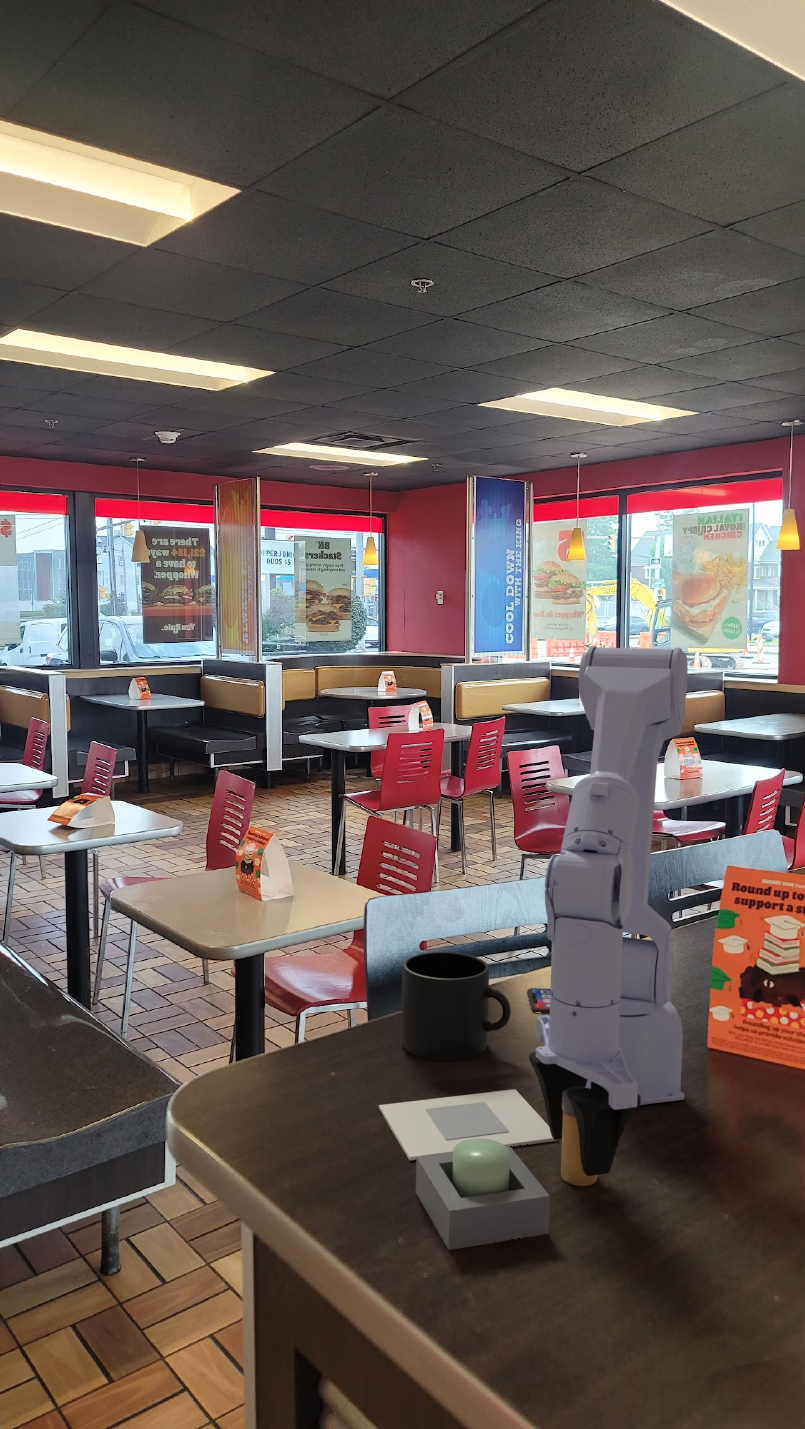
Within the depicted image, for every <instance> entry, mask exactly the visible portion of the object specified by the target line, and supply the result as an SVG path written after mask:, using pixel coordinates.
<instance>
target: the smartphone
mask: <svg viewBox="0 0 805 1429" xmlns="http://www.w3.org/2000/svg"><path fill="white" fill-rule="evenodd" d="M550 989H551V988H540V987H539V988H537V987H535V988H534V987H531V988H529V989H527V990H526V995H527V999H528V998H529V1000H528V1003H529V1002H530V1004H529V1007H530V1006H531V1008H530V1010H532V1011H533V1012H541V1013H550V993H551V992H550ZM532 1011H531V1012H532ZM533 1012H532V1013H533Z"/></svg>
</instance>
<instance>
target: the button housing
mask: <svg viewBox="0 0 805 1429" xmlns="http://www.w3.org/2000/svg"><path fill="white" fill-rule="evenodd" d="M504 1146H506V1147H507V1148H508V1150H509V1152H510V1172H509V1191H506V1192H499V1193H492V1194H485V1195H479V1196H472V1197H465V1198H461V1197H460V1196H459V1194H458V1193H457V1191H456V1190H455V1188H454V1187H453V1185H452V1182H453V1152H450V1153H443V1154H435V1155H428V1156H420V1157H417V1160H416V1168H415V1194H416V1195H417V1197H418V1199H419V1201H420V1202H421V1205H422V1204H423V1205H422V1207H423V1208H424V1209H425V1210H424V1211H426V1214H428V1217H429V1219H430V1220H431V1223H432V1224H433V1226H434V1227H435V1229H436V1231H437V1232H438V1234H439V1236H440V1238H441V1240H442V1242H443V1243H444V1245H445V1246H446V1248H447V1250H448V1251H452V1250H457V1249H463V1248H464V1249H465V1248H470V1247H476V1246H483V1245H488V1244H494V1243H495V1242H496V1243H500V1242H501V1243H502V1242H506V1241H507V1240H508V1241H512V1240H511V1239H514V1240H519V1239H518V1238H520V1239H525V1238H524V1237H526V1238H531V1237H537V1236H544V1234H545V1235H549V1231H550V1201H551V1200H550V1199H551V1198H550V1194H549V1193H548V1192H547V1191H546V1189H545V1188H544V1187H543V1186H542V1184H541V1182H539V1180H538V1179H537V1177H535V1175H534V1174H533V1173H532V1172H531V1171H530V1169H529V1168H528V1167H527V1166H526V1164H525V1163H524V1162H523V1161H522V1159H521V1158H520V1157H519V1155H518V1154H517V1153H516V1152H515V1151H514V1149H513V1147H510V1146H509V1145H504ZM508 1241H507V1242H508Z"/></svg>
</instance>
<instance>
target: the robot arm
mask: <svg viewBox="0 0 805 1429" xmlns="http://www.w3.org/2000/svg"><path fill="white" fill-rule="evenodd" d="M578 671H579V672H578V693H579V699H580V702H581V703H582V707H583V709H584V712H585V717H586V719H587V721H589V726H590V729H591V730H592V731H594V732H593V741H592V751H591V759H590V760H591V761H590V772H589V775H588V776H586V777H584V778H582V779H580V780H579V781H578V782H577V783H576V784H575V785H574V788H573V792H572V795H571V796H572V797H571V800H570V801H571V802H570V804H569V805H570V806H569V810H568V815H567V819H566V825H565V829H564V834H563V837H562V838H563V839H562V843H561V847H560V853H559V855H557V854H552V855H551V857H550V858H549V861H548V863H547V867H546V873H545V880H544V904H545V905H544V906H545V913H546V918H547V933H546V934H547V940H550V941H551V957H550V958H551V960H550V961H551V962H550V963H551V964H550V967H551V968H550V988H549V989H550V992H551V993H550V1014H549V1015H542V1016H536V1028H535V1030H536V1033H535V1038H536V1039H537V1040H539V1041H540V1042H543V1044H544V1045H543V1046H538V1047H536V1048H535V1051H532V1052H530V1053H529V1055H528V1061H529V1062H530V1064H531V1066H532V1068H533V1071H534V1074H535V1075H536V1077H537V1080H538V1083H539V1087H540V1090H541V1092H542V1096H543V1101H544V1102H543V1103H544V1106H545V1111H546V1116H547V1117H546V1118H547V1122H548V1123H547V1124H548V1126H549V1128H550V1132H551V1135H552V1137H553V1138H554V1140H559V1141H560V1140H562V1125H563V1110H562V1093H563V1091H564V1090H565V1089H568V1088H572V1087H584V1088H583V1089H575V1090H568V1091H567V1096H568V1098H569V1100H570V1103H571V1105H572V1107H573V1110H574V1113H575V1117H576V1121H577V1125H578V1131H579V1141H580V1156H581V1164H582V1168H583V1172H584V1173H585V1174H586V1175H587V1176H593V1175H597V1176H598V1175H606V1174H610V1172H611V1169H612V1165H613V1162H614V1158H615V1156H616V1154H617V1149H618V1147H619V1143H620V1140H621V1138H622V1137H623V1136H622V1135H623V1133H624V1131H625V1129H626V1127H627V1124H628V1123H629V1121H630V1120H631V1118H632V1116H633V1115H634V1114H635V1112H636V1111H637V1110H638V1109H639V1107H641V1106H644V1105H650V1104H656V1103H659V1104H661V1103H667V1102H675V1101H682V1100H684V1099H685V1096H686V1095H685V1093H684V1092H682V1091H681V1084H682V1083H681V1082H682V1063H683V1062H682V1059H683V1039H684V1038H683V1034H684V1033H683V1026H682V1021H681V1018H680V1015H679V1012H678V1011H677V1009H676V1007H675V1005H673V1004H672V1002H671V997H672V991H673V983H674V974H675V973H674V972H675V951H674V938H675V936H674V935H675V934H674V932H673V931H672V926H671V925H670V924H669V922H668V921H667V920H665V918H663V916H661V915H660V914H659V913H658V912H657V911H655V910H654V909H653V908H652V907H651V905H649V903H648V898H649V884H650V870H651V857H652V856H651V855H652V854H651V853H652V843H653V842H652V839H653V826H654V814H655V813H654V812H655V801H656V800H655V799H656V788H657V787H656V786H657V785H656V784H657V772H658V761H659V758H660V754H661V752H662V748H663V745H664V743H665V741H667V740H669V739H672V738H674V737H676V736H678V735H680V734H681V733H682V726H683V725H684V723H685V716H686V714H685V713H686V699H687V693H688V692H687V690H688V674H689V673H688V671H689V670H688V657H687V653H685V651H683V649H682V648H681V647H674V649H673V648H672V649H671V648H635V647H634V648H632V647H631V648H629V647H598V646H596V645H589V646H588V647H587V648H586V649H585V651H584V652H583V653H582V655H581V658H580V664H579V670H578ZM624 933H626V934H632V935H633V934H635V935H642V936H646V937H649V938H650V939H651V940H650V939H642V938H636V937H627V936H624Z"/></svg>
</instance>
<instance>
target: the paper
mask: <svg viewBox="0 0 805 1429" xmlns="http://www.w3.org/2000/svg"><path fill="white" fill-rule="evenodd" d="M378 1110H379V1112H380V1113H381V1114H382V1117H383V1118H384V1120H385V1122H386V1123H387V1125H388V1127H389V1128H390V1130H391V1132H392V1133H393V1135H394V1137H395V1138H396V1140H397V1142H398V1144H399V1145H400V1147H401V1149H402V1150H403V1152H404V1154H405V1155H406V1157H407V1159H408V1161H409V1162H410V1161H415V1160H417V1157H420V1156H428V1155H435V1154H443V1153H450V1152H453V1149H454V1147H455V1146H456V1145H457V1144H458V1143H460V1142H462V1141H464V1140H468V1139H475V1138H481V1139H489V1140H494V1141H497V1142H499V1143H501V1144H503V1145H509V1146H512V1147H511V1148H513V1146H514V1147H520V1146H519V1145H521V1146H528V1145H534V1144H542V1143H548V1142H549V1143H550V1142H558V1141H560V1139H559V1140H554V1138H553V1137H552V1135H551V1132H550V1128H549V1124H548V1123H546V1121H545V1120H544V1119H543V1118H542V1117H541V1116H540V1115H539V1113H538V1112H537V1111H536V1110H535V1109H534V1107H532V1106H531V1105H530V1104H529V1103H528V1102H527V1100H526V1099H525V1098H524V1097H523V1096H522V1095H521V1094H520V1093H519V1092H518V1090H517V1089H516V1088H514V1089H507V1090H506V1089H504V1090H497V1091H490V1092H482V1093H472V1094H464V1095H455V1096H447V1097H446V1096H445V1097H437V1098H431V1099H430V1098H429V1099H422V1100H421V1099H420V1100H414V1101H403V1102H395V1103H387V1104H379V1105H378ZM527 1144H528V1145H527Z"/></svg>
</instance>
